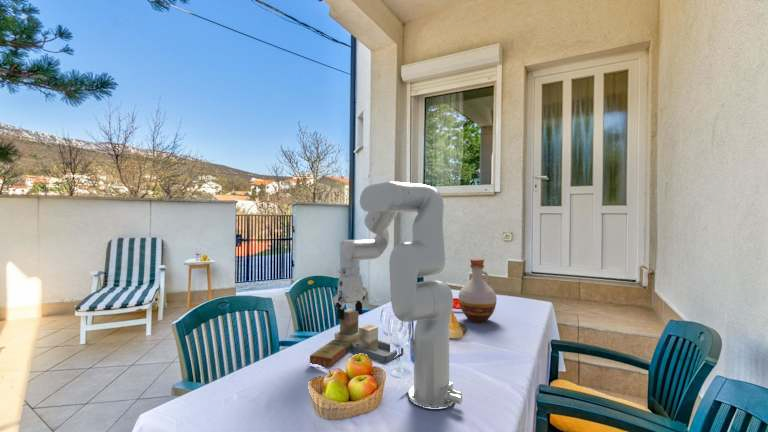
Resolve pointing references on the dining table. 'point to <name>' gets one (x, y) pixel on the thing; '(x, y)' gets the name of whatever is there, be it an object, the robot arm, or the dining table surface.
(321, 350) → the reddish brown flat block
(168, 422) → the dining table surface
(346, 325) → the walnut block
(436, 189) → the robot arm
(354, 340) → the stand
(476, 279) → the jug
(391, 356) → the tray
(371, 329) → the beech block
